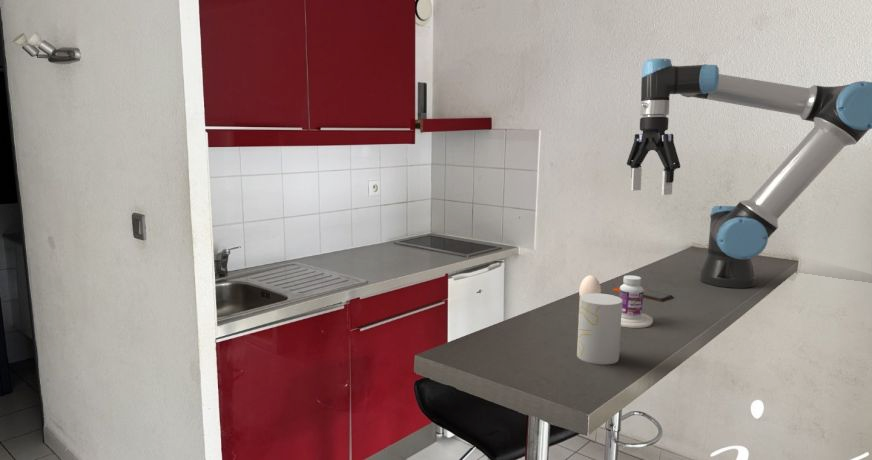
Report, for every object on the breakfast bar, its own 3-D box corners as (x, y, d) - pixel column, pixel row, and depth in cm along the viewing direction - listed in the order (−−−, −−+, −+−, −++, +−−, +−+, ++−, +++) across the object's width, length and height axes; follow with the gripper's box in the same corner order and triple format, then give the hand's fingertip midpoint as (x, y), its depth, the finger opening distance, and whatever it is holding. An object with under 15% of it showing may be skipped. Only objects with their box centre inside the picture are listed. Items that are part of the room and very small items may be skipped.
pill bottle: (629, 321, 139) (632, 280, 138) (613, 314, 144) (615, 275, 143) (646, 317, 142) (649, 278, 140) (629, 311, 147) (632, 273, 145)
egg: (604, 306, 155) (606, 276, 153) (589, 309, 152) (591, 279, 151) (589, 301, 159) (590, 272, 158) (574, 304, 157) (575, 274, 155)
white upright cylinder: (571, 349, 124) (574, 293, 122) (609, 348, 125) (613, 292, 123) (584, 364, 116) (587, 305, 114) (625, 363, 117) (629, 304, 115)
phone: (624, 284, 174) (674, 295, 163) (624, 288, 174) (673, 299, 163) (612, 288, 170) (662, 299, 159) (612, 292, 170) (661, 304, 159)
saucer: (635, 312, 150) (635, 308, 150) (662, 326, 139) (662, 321, 139) (595, 315, 147) (596, 311, 147) (620, 329, 136) (620, 325, 136)
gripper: (616, 117, 178) (613, 189, 181) (673, 115, 154) (669, 197, 158) (637, 117, 180) (635, 188, 183) (697, 114, 157) (692, 195, 160)
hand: (650, 192), depth 171 cm, fingers open, 13 cm apart
